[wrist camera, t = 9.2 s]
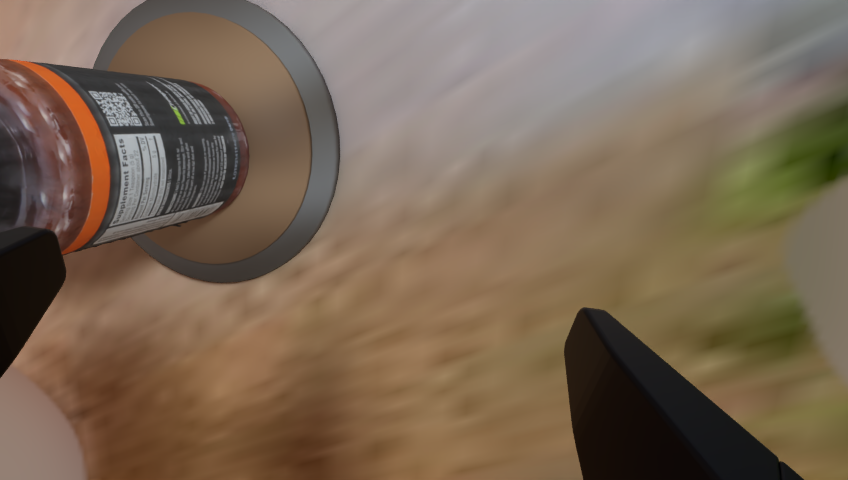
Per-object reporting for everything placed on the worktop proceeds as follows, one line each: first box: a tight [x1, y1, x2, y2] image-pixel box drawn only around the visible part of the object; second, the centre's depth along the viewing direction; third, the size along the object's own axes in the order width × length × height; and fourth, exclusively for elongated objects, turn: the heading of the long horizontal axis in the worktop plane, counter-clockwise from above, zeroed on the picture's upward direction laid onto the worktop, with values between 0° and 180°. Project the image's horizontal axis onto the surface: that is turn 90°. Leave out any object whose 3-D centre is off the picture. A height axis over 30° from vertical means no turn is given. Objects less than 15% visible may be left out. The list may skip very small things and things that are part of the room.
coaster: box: [93, 0, 340, 283], centre depth 23 cm, size 13×13×1 cm
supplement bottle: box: [0, 59, 250, 255], centre depth 17 cm, size 6×6×11 cm
